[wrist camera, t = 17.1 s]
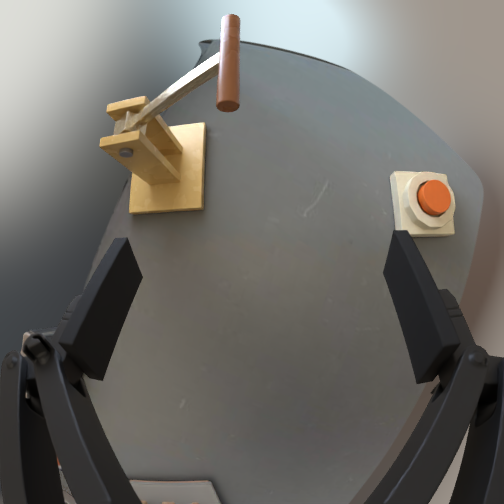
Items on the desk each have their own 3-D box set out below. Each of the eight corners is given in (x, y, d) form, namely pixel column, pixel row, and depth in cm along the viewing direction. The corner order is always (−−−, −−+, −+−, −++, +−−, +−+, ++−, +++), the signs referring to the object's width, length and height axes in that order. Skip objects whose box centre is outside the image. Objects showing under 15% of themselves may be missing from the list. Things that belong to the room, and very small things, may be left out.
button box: (439, 179, 35) (452, 169, 31) (446, 236, 34) (462, 231, 30) (389, 176, 36) (399, 165, 32) (395, 237, 35) (408, 231, 31)
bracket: (206, 126, 39) (176, 64, 25) (203, 210, 38) (164, 171, 24) (140, 135, 40) (93, 84, 26) (132, 214, 38) (71, 184, 25)
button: (441, 184, 32) (448, 180, 30) (446, 216, 31) (453, 212, 29) (415, 183, 32) (421, 178, 30) (419, 215, 31) (426, 212, 30)
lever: (248, 23, 19) (226, 7, 17) (249, 109, 18) (222, 94, 16) (139, 102, 29) (120, 96, 27) (128, 175, 28) (107, 171, 26)
